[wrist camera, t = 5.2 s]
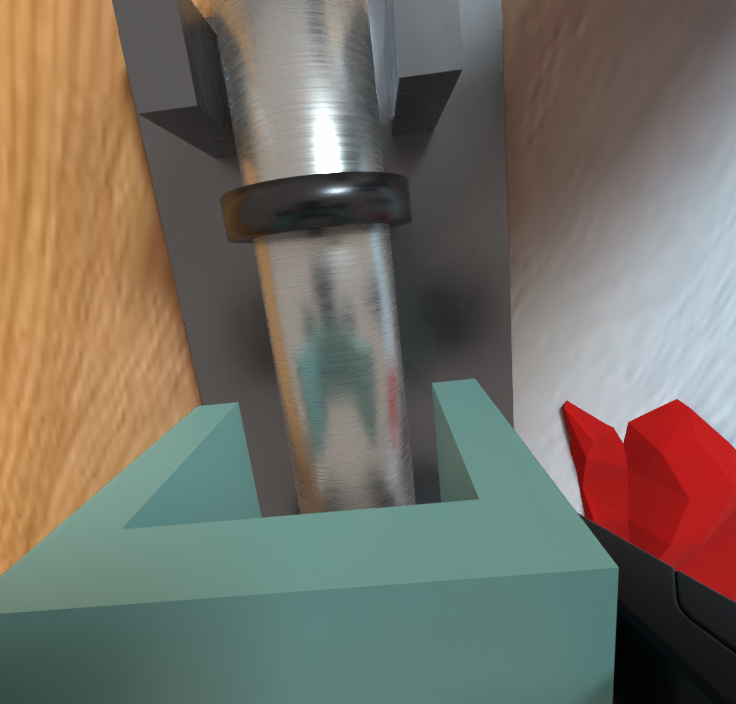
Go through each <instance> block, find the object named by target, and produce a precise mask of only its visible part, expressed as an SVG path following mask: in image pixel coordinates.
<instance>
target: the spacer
mask: <svg viewBox="0 0 736 704" xmlns="http://www.w3.org/2000/svg"><path fill="white" fill-rule="evenodd" d="M432 393H433V406H434V418H435V431H436V444H437V457H438V470H439V482H440V495H441V503H431V504H419V505H407V506H395V507H383V508H371V509H359V510H348V511H336V512H324V513H312V514H300V515H288V516H276V517H265V518H262V516H261V511H260V506H259V502H258V497H257V492H256V487H255V482H254V477H253V472H252V467H251V462H250V457H249V453H248V448H247V443H246V438H245V433H244V428H243V423H242V418H241V413H240V408H239V403H238V402H234V403H224V404H214V405H204V406H197V407H196V408H195V409H194V410H192V411H191V412H190V413H189V414H188V415H187V416H185V417H184V418H183V419H182V420H181V421H180V422H178V423H177V424H176V425H175V426H174V427H173V428H172V429H170V430H169V431H168V432H167V433H166V434H165V435H163V436H162V437H161V438H160V439H159V440H158V441H156V442H155V443H154V444H153V445H152V446H151V447H150V448H148V449H147V450H146V451H145V452H144V453H143V454H141V455H140V456H139V457H138V458H137V459H136V460H134V461H133V462H132V463H131V464H130V465H129V466H128V467H126V468H125V469H124V470H123V471H122V472H121V473H119V474H118V475H117V476H116V477H115V478H114V479H112V480H111V481H110V482H109V483H108V484H107V485H106V486H104V487H103V488H102V489H101V490H100V491H99V492H97V493H96V494H95V495H94V496H93V497H92V498H90V499H89V500H88V501H87V502H86V503H85V504H84V505H82V506H81V507H80V508H79V509H78V510H77V511H75V512H74V513H73V514H72V515H71V516H70V517H68V518H67V519H66V520H65V521H64V522H63V523H62V524H60V525H59V526H58V527H57V528H56V529H55V530H53V531H52V532H51V533H50V534H49V535H48V536H46V537H45V538H44V539H43V540H42V541H41V542H40V543H38V544H37V545H36V546H35V547H34V548H33V549H31V550H30V551H29V552H28V553H27V554H26V555H24V556H23V557H22V558H21V559H20V560H19V561H18V562H16V563H15V564H14V565H13V566H12V567H11V568H9V569H8V570H7V571H6V572H5V573H4V574H2V575H1V576H0V704H613V682H614V660H615V638H616V617H617V595H618V573H619V567H618V566H617V565H616V563H615V562H614V561H613V559H612V558H611V557H610V555H609V554H608V553H607V551H606V550H605V549H604V548H603V546H602V545H601V544H600V542H599V541H598V540H597V538H596V537H595V536H594V534H593V533H592V532H591V530H590V529H589V528H588V527H587V525H586V524H585V523H584V521H583V520H582V519H581V517H580V516H579V515H578V513H577V512H576V511H575V509H574V508H573V507H572V505H571V504H570V503H569V502H568V500H567V499H566V498H565V496H564V495H563V494H562V492H561V491H560V490H559V488H558V487H557V486H556V484H555V483H554V482H553V480H552V479H551V478H550V477H549V475H548V474H547V473H546V471H545V470H544V469H543V467H542V466H541V465H540V463H539V462H538V461H537V459H536V458H535V457H534V455H533V454H532V453H531V452H530V450H529V449H528V448H527V446H526V445H525V444H524V442H523V441H522V440H521V438H520V437H519V436H518V434H517V433H516V432H515V430H514V429H513V428H512V427H511V425H510V424H509V423H508V421H507V420H506V419H505V417H504V416H503V415H502V413H501V412H500V411H499V409H498V408H497V407H496V406H495V404H494V403H493V402H492V400H491V399H490V398H489V396H488V395H487V394H486V392H485V391H484V390H483V388H482V387H481V386H480V384H479V383H478V382H477V381H476V379H466V380H456V381H446V382H436V383H432Z"/></svg>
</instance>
